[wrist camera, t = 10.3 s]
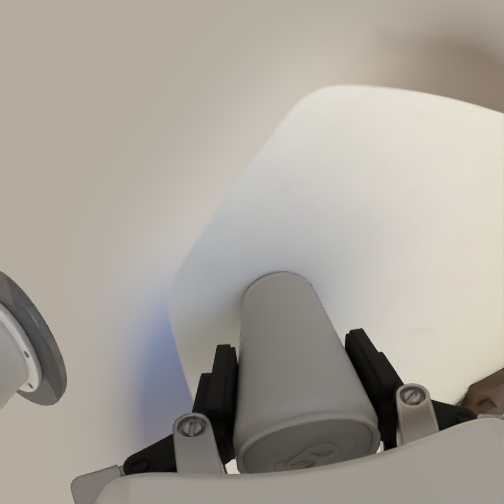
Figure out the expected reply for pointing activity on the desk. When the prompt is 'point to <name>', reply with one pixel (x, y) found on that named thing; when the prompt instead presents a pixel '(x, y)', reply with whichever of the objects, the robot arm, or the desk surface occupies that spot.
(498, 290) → the desk surface
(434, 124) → the desk surface
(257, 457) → the beverage can
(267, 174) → the desk surface
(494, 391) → the switch box
